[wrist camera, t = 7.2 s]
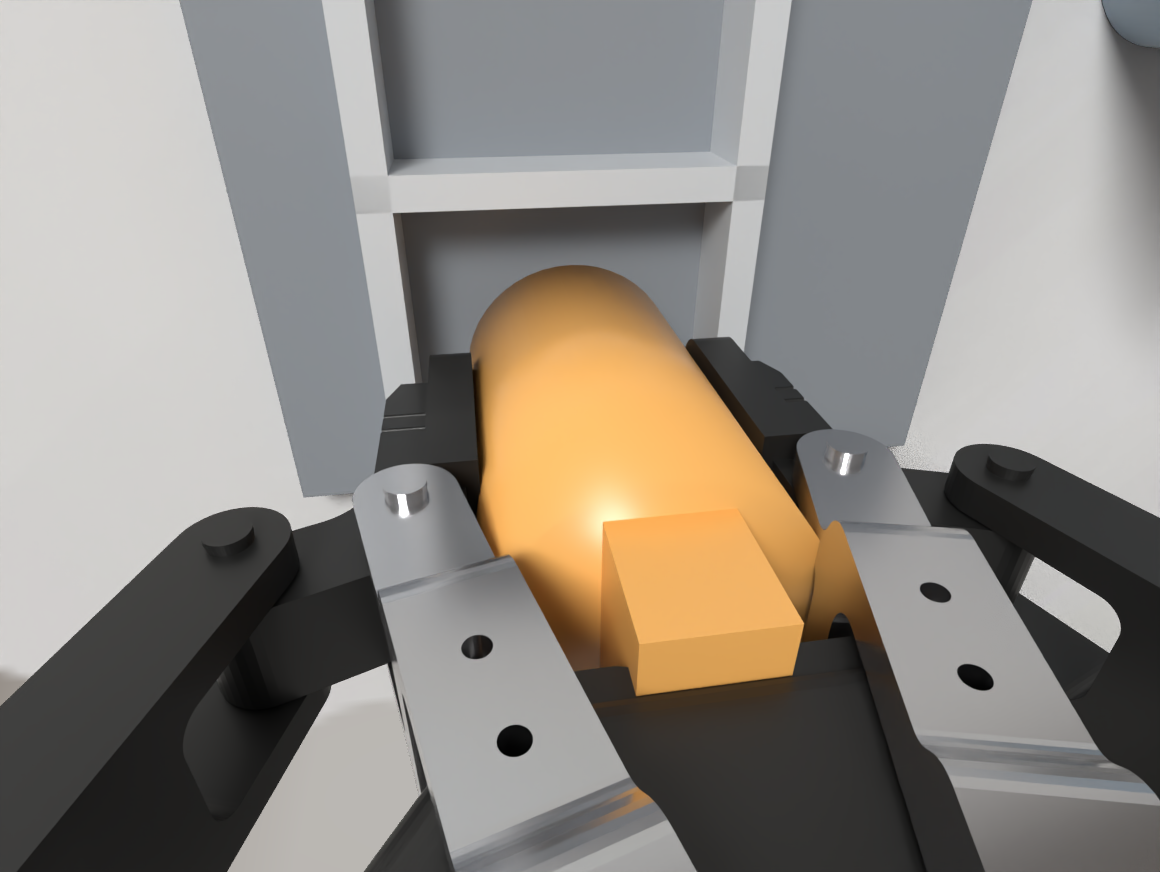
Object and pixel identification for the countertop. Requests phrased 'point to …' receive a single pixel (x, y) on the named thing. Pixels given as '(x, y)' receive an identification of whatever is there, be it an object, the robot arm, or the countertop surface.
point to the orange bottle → (632, 490)
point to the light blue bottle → (1135, 20)
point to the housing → (599, 182)
